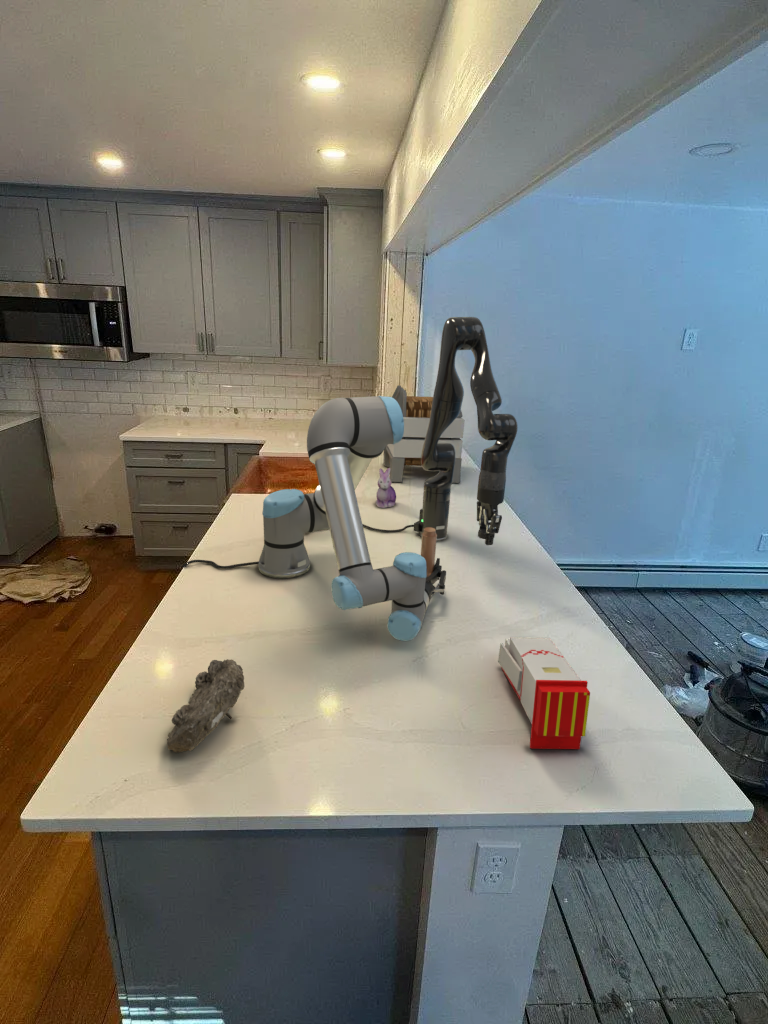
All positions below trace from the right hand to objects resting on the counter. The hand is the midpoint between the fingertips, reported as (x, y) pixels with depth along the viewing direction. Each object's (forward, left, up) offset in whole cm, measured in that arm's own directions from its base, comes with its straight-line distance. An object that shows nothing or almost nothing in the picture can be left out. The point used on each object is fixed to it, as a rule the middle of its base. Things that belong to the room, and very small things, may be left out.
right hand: (485, 541), depth 165 cm
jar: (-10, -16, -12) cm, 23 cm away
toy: (+34, -44, -12) cm, 57 cm away
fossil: (-13, -88, -12) cm, 90 cm away
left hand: (-12, -11, -6) cm, 17 cm away
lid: (0, 0, +3) cm, 3 cm away
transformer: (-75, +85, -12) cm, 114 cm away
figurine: (-60, +36, -12) cm, 71 cm away
